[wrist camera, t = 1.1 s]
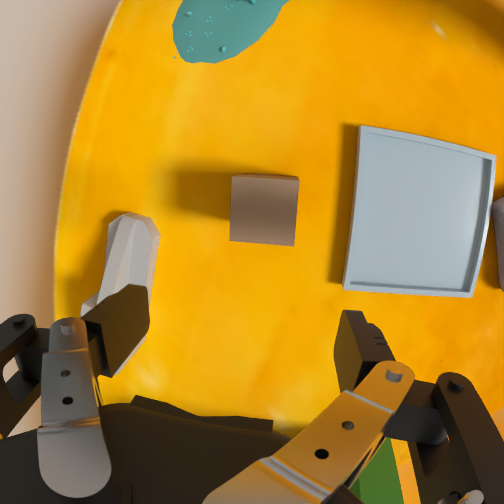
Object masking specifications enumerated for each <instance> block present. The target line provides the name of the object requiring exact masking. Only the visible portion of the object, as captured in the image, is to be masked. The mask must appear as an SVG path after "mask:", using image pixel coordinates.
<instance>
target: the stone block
mask: <svg viewBox="0 0 504 504" xmlns="http://www.w3.org/2000/svg"><path fill="white" fill-rule="evenodd" d="M492 217H493V224H494V231H495V239H496V248H497V258H498V277H499V284H500V287H501V289H502V291H503V292H504V197H502V198H500V199H498V200H496V201H494V202H493V203H492Z"/></svg>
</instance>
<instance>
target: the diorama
mask: <svg viewBox="0 0 504 504" xmlns="http://www.w3.org/2000/svg"><path fill="white" fill-rule="evenodd" d="M288 1H289V0H183V2H182V4H181V5H180V7H179V9H178V11H177V14H176V17H175V20H174V22H173V25H172V27H173V40H174V43H175V45H176V47H177V50H178V52H179V54H180V56H181V58H182V59H183V60H185V61H186V62H190V63H197V62H206V63H218V62H220V61H223V60H225V59H228V58H232V57H235V56H236V55H238V54H239V53H240V52H242V51H243V50H245V49H246V48H248V47H249V46H250V45H252V44H253V43H255V42H256V41H258V40H259V39H260V37H261V36H262V35H263V34H264V33H265V32H266V31H267V30H268V28H269V27H270V26H271V25H272V24H273V23H274V22H275V20H276V18H277V16H278V14H279V12H280V10H281V8H282V6H283V5H284V4H285V3H287V2H288ZM175 58H176V57H175V56H174V59H175Z"/></svg>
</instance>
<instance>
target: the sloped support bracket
mask: <svg viewBox="0 0 504 504" xmlns="http://www.w3.org/2000/svg"><path fill="white" fill-rule="evenodd" d="M159 240H160V233H159V231H158V229H157V228H156V226H155V224H154V223H153V221H152V219H151V218H149V217H145V216H142V215H139V214H135V213H132V212H128V213H125V214H122V215H121V216H119V217H118V218H116V219H115V220H114V221H112V222H111V223H110V224H109V228H108V237H107V247H106V257H105V269H104V276H103V280H102V284H101V288H100V291H98V292H97V293H96V294H94V295H93V296H92V297H90V298H89V299H88V300H86V301H85V302H83V303H82V307H81V317H82V316H83V315H85V314H86V313H87V312H88V311H90V310H91V309H92V308H93V307H95V306H96V305H97V304H98V303H100V302H101V301H102V300H103V299H105V298H106V297H107V296H110V295H112V294H115V293H118V292H119V291H120V290H121V289H123V288H124V287H125V286H126V285H127V284H135V285H141V286H146V288H147V290H148V303H149V306H150V298H151V291H152V284H153V277H154V270H155V264H156V257H157V251H158V245H159ZM145 338H146V335H145V336H144V337H143V338H142V340H141V341H140V342H139V344H138V345H137V346H136V347H135V349H134V350H133V351H132V352H131V354H130V355H129V356H128V357H127V359H126V360H125V361H124V363H123V364H122V365H121V366H120V368H119V369H118V370H117V372H116V373H115V374H117V373H119V372H120V371H121V370H122V368H123V367H124V366H125V365H126V363H127V362H128V361H129V360H130V358H131V357H132V356H133V355H134V353H135V352H136V351H137V350H138V348H139V347H140V346H141V345H142V343H143V342H144V341H145ZM115 374H114V375H115Z"/></svg>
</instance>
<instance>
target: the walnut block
mask: <svg viewBox="0 0 504 504" xmlns="http://www.w3.org/2000/svg"><path fill="white" fill-rule="evenodd" d="M298 189H299V178H298V177H295V176H282V175H268V174H251V173H245V174H241V175H236V176H232V186H231V211H230V240H229V241H237V242H249V243H261V244H273V245H284V246H294V239H295V228H296V215H297V203H298Z"/></svg>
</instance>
